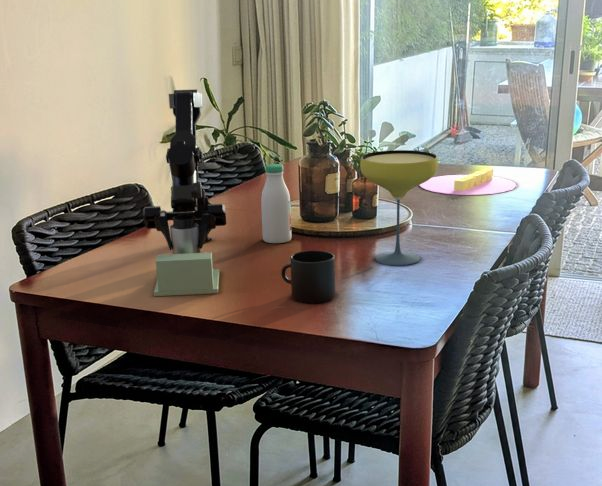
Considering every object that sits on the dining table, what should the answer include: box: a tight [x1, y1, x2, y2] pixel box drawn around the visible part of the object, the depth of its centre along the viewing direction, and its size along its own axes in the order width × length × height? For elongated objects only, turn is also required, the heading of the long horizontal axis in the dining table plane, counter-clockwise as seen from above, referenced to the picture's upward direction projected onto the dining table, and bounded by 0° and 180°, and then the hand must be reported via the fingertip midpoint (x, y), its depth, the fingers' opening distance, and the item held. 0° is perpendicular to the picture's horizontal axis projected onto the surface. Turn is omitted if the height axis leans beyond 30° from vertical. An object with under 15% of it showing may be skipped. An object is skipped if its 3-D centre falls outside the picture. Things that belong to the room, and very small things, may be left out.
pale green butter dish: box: [153, 252, 220, 297], centre depth 196 cm, size 15×14×8 cm
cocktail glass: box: [359, 149, 439, 267], centre depth 206 cm, size 18×18×25 cm
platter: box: [419, 168, 517, 196], centre depth 289 cm, size 32×32×3 cm
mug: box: [280, 249, 336, 304], centre depth 186 cm, size 9×12×9 cm
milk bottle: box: [260, 163, 292, 244], centre depth 227 cm, size 8×8×20 cm
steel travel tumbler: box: [169, 215, 202, 254], centre depth 197 cm, size 6×6×14 cm
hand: (185, 248), depth 195 cm, fingers closed on steel travel tumbler, 6 cm apart
